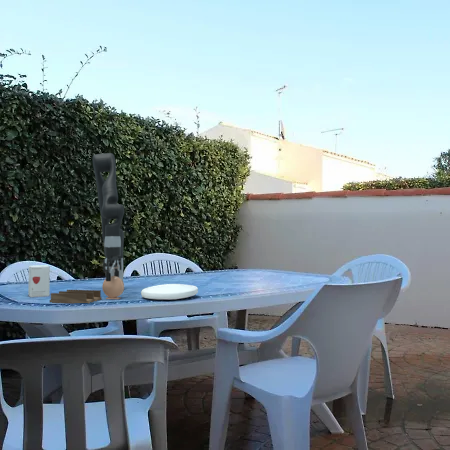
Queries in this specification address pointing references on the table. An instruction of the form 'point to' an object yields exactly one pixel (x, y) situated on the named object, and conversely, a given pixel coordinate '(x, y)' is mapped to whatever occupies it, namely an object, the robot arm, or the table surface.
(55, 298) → the dish rack
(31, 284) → the supplement box
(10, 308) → the table surface
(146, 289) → the plate
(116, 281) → the saucer
